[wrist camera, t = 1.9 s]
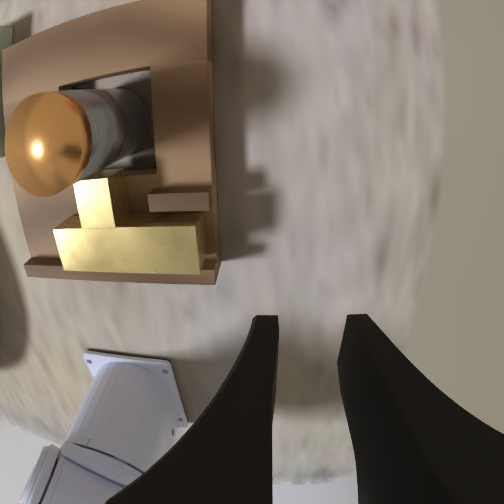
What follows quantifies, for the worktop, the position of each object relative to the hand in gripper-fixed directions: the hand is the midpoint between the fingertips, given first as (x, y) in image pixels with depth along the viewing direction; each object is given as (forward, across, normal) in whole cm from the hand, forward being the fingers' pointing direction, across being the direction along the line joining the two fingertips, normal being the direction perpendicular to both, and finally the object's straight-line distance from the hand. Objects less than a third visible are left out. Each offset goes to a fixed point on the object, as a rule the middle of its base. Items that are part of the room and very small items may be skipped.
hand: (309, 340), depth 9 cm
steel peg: (+9, +10, -6) cm, 15 cm away
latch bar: (+8, +8, -1) cm, 12 cm away
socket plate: (+9, +10, -5) cm, 15 cm away
